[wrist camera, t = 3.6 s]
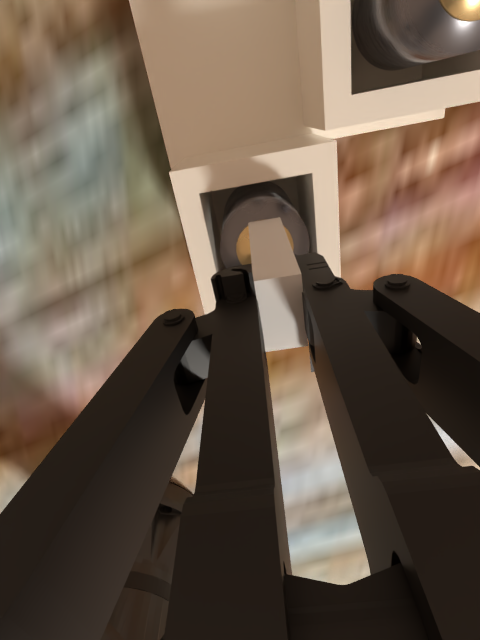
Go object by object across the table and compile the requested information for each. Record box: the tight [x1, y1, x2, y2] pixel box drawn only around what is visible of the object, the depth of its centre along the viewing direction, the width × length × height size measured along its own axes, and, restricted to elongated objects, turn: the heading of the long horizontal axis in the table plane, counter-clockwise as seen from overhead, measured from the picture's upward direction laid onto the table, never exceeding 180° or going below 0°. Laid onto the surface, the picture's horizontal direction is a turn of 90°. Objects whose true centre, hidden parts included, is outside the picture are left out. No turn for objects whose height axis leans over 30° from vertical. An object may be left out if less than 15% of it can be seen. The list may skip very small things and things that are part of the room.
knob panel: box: [129, 0, 480, 314], centre depth 17 cm, size 17×27×7 cm, turn 10°
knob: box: [220, 181, 309, 269], centre depth 20 cm, size 4×4×6 cm
